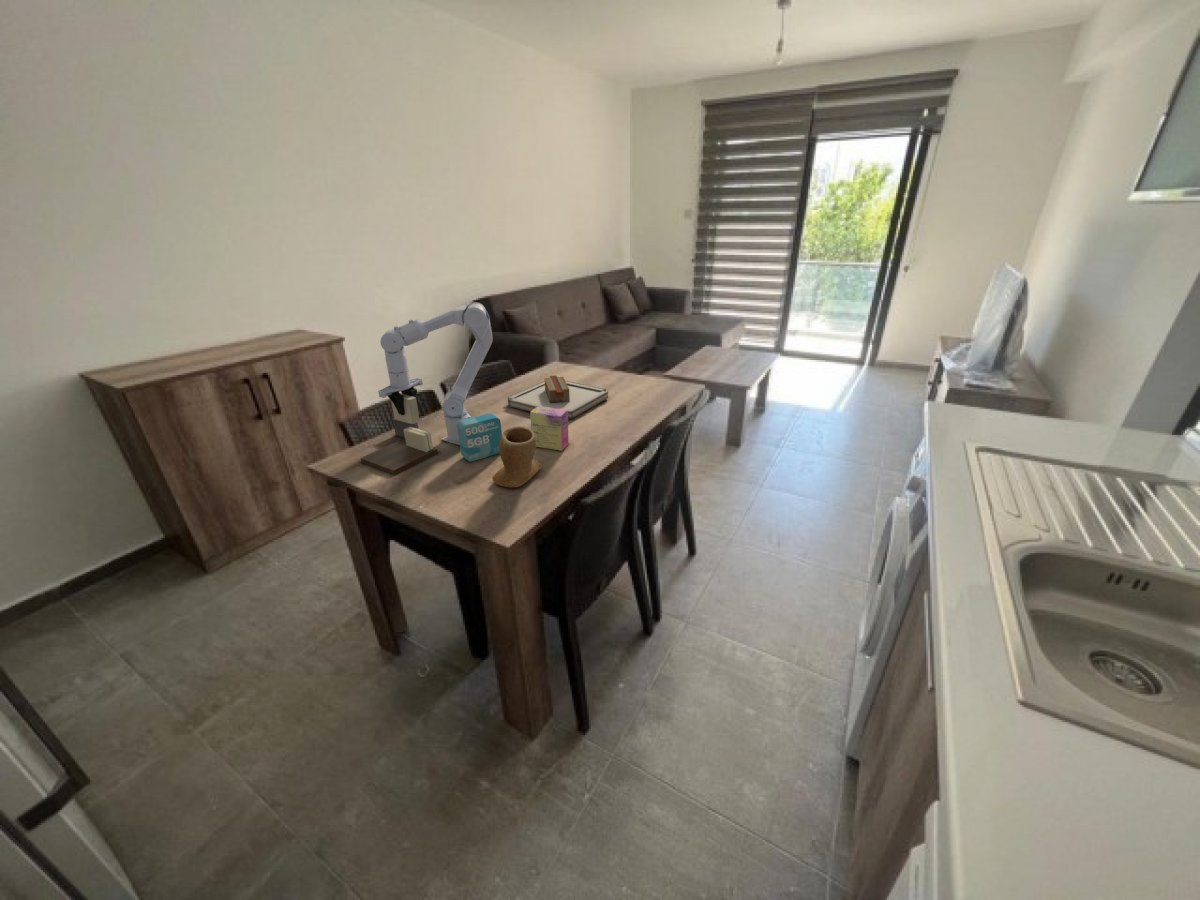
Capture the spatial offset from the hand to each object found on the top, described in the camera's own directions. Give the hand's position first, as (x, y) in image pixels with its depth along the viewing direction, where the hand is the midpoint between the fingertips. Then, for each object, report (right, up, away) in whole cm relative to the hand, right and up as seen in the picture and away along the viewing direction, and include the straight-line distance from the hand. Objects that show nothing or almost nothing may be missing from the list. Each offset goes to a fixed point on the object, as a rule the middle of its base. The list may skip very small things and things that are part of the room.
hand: (405, 412), depth 150 cm
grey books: (-3, -7, +9) cm, 12 cm away
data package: (+25, -13, -3) cm, 29 cm away
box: (+45, -10, +2) cm, 47 cm away
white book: (0, -2, +1) cm, 2 cm away
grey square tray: (+45, +7, +37) cm, 59 cm away
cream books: (+5, -11, -2) cm, 12 cm away
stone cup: (+39, -20, -16) cm, 46 cm away
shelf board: (0, -14, -5) cm, 15 cm away
